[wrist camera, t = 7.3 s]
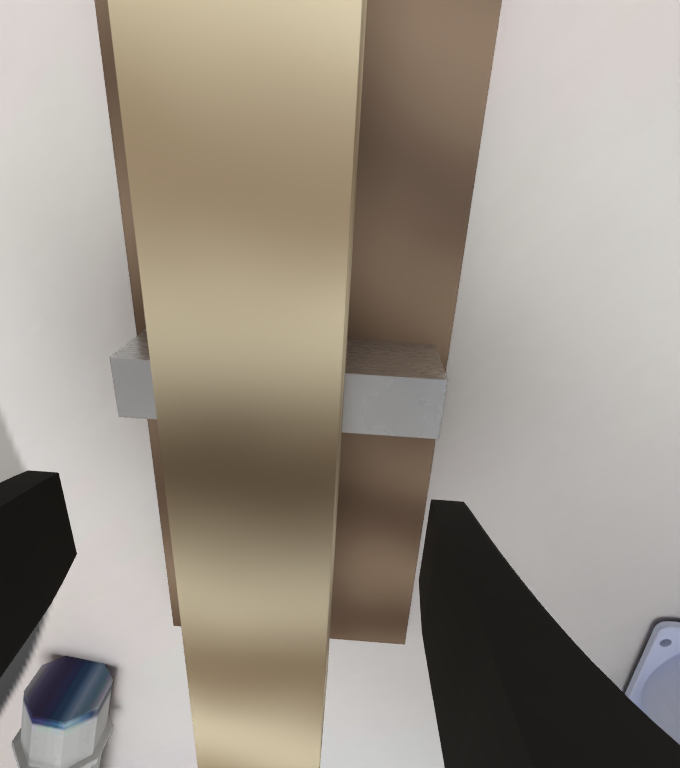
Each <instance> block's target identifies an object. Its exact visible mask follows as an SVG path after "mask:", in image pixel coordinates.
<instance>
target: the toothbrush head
mask: <svg viewBox="0 0 680 768" xmlns="http://www.w3.org/2000/svg"><path fill="white" fill-rule="evenodd" d="M112 682H113V679H112V677H111V675H110V673H109V671H108V669H107V667H106V665H105V664H103V663H98V662H93V661H89V660H84V659H79V658H74V657H69V656H65V657H63V658H60V659H57V660H55V661H52V662H50V663H47V664H45V665H42V667H41V668H40V669H39V671H38V672H37V674H36V675H35V676H34V678H33V679H32V681H31V682H30V684H29V685H28V686H27V688H26V689H25V691H24V699H23V712H22V726H21V729H20V730H19V732H18V733H17V735H16V736H15V738H14V739H13V741H12V748H13V752H14V755H15V758H16V762H17V765H18V768H99V766H100V760H101V755H102V751H103V749H104V747H105V745H106V743H107V741H108V739H109V737H110V735H111V732H112V730H113V723H112V721H111V719H110V717H109V715H108V711H109V704H110V697H111V690H112Z"/></svg>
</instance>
